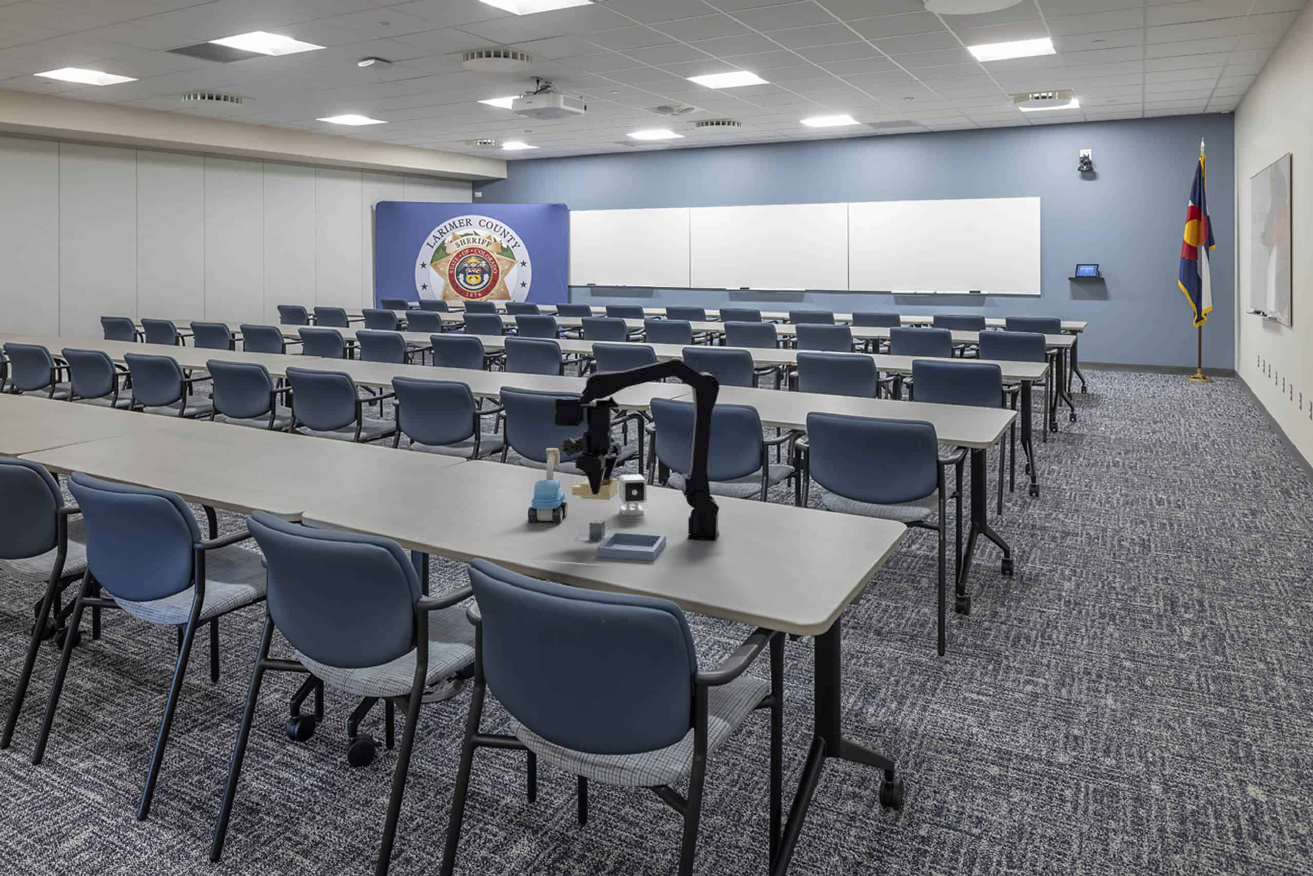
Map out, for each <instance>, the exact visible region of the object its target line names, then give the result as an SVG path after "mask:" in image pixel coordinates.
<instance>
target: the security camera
mask: <svg viewBox="0 0 1313 876" xmlns="http://www.w3.org/2000/svg"><path fill="white" fill-rule="evenodd" d="M647 484H648V483H647V480H646V479H645V477H644V476H643V475H642V474H639V473H638V474H621V475H619V476H618V497H619V499H620V500H621V502H622V504H624V505H620V506H619V511H620V513H621V512H622V513H621V515H622V514H623V515H622V516H634V515H636V516H645V512H644V508H643V507H642V505H639V504H644V503H647V496H648V495H647V486H648V485H647ZM630 504H631V506H630ZM632 504H634V505H632Z"/></svg>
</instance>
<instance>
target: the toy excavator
mask: <svg viewBox="0 0 1313 876" xmlns="http://www.w3.org/2000/svg"><path fill="white" fill-rule="evenodd" d="M545 452H546V454H545V455H546V465H545V466H546V467H545V468H546V470H545V471H546V480H537V481H536V482H535V485H534V490H533V491H534V492H533V498H532V499H531V506H529V507H528V510H527V521H528V523H537V522H542V521H543V522H549V521H550V522H551V521H552V522H553V524H561V523H562V522H563V518H566V517H567V515H568V502H567V501H566V502H565V492H564V491H560V490H559V489H560V487H561V483H560V481H559V480H556V479H555V480H554V478H555V477H554V466H559V465H560V463H561V462H560V461H561V455H560V449H559V448H558V447H557V448H556V447H547V448H546V449H545Z"/></svg>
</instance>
